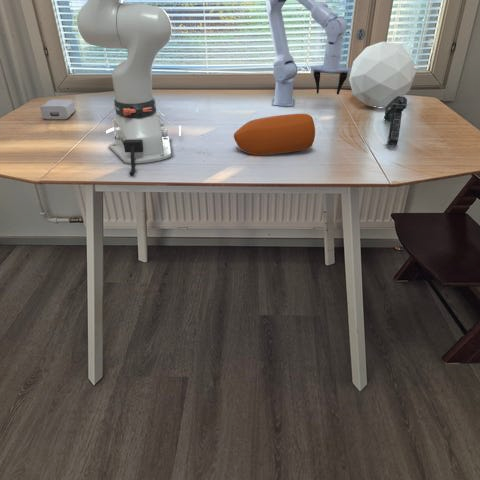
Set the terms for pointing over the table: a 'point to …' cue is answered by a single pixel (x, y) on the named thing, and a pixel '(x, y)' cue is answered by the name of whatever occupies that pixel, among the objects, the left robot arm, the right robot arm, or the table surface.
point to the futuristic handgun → (395, 118)
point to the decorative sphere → (381, 74)
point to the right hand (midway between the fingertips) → (327, 93)
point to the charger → (57, 109)
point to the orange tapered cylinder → (276, 134)
